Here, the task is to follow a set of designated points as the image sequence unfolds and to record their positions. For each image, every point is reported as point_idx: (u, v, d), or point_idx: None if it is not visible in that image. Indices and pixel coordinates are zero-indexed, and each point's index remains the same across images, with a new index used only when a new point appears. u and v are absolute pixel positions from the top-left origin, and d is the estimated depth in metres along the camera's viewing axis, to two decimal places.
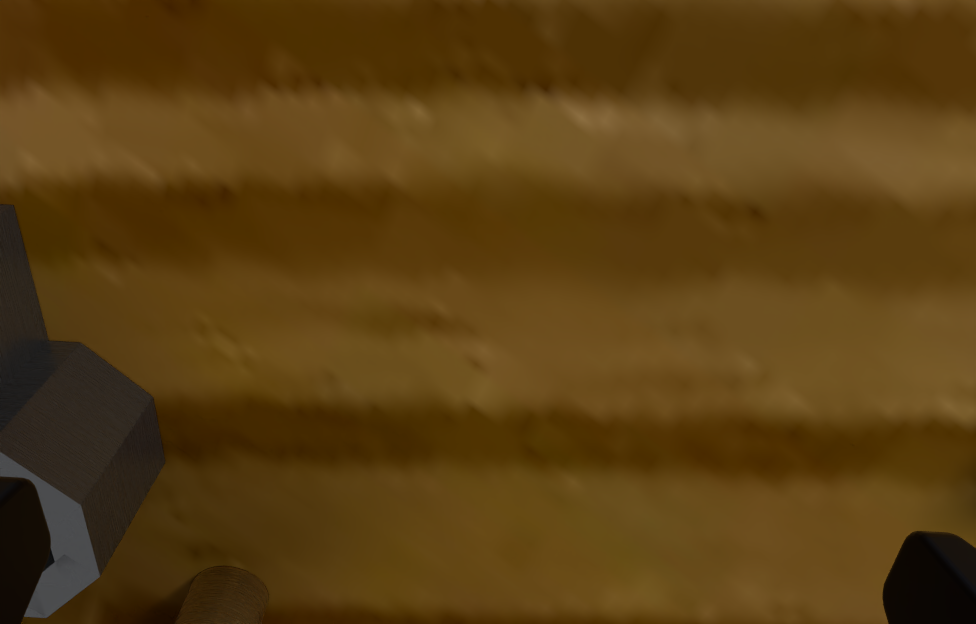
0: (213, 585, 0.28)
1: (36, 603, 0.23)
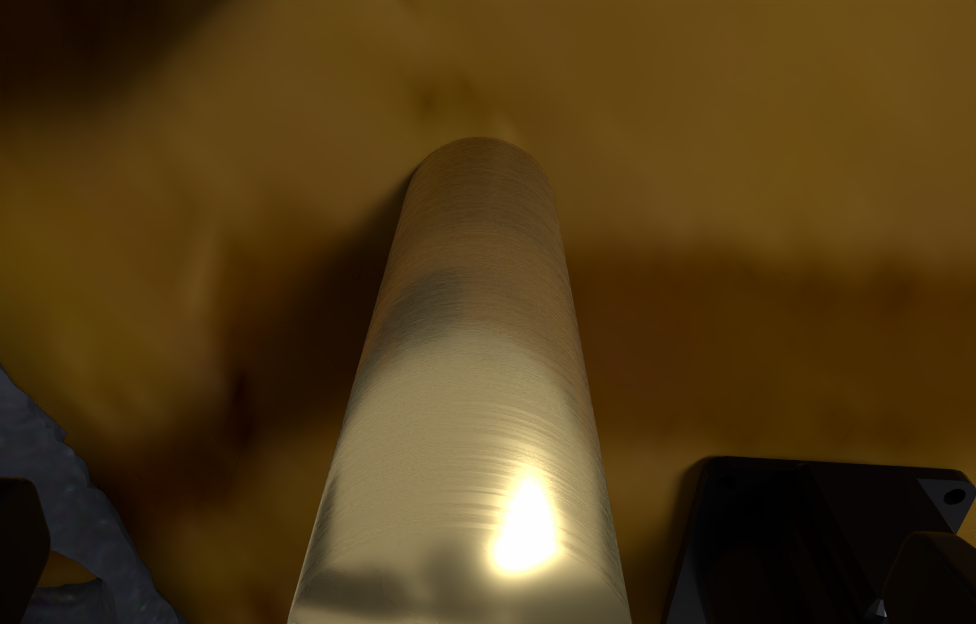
0: (472, 152, 0.14)
1: None
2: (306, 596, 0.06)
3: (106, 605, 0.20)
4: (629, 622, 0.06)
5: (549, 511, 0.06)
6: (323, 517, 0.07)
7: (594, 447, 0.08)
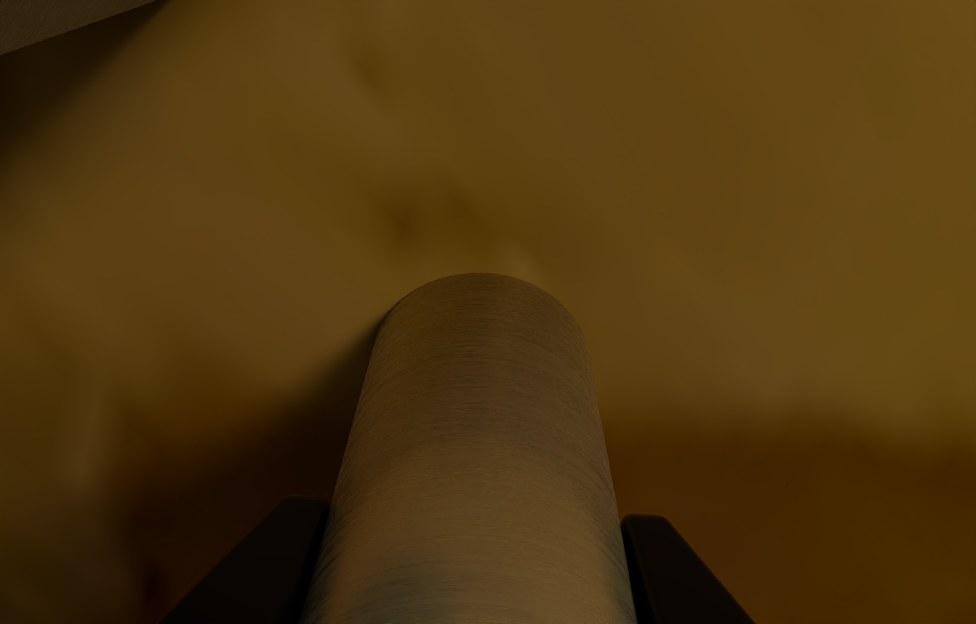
0: (469, 307, 0.09)
1: None
2: None
3: None
4: None
5: None
6: None
7: None
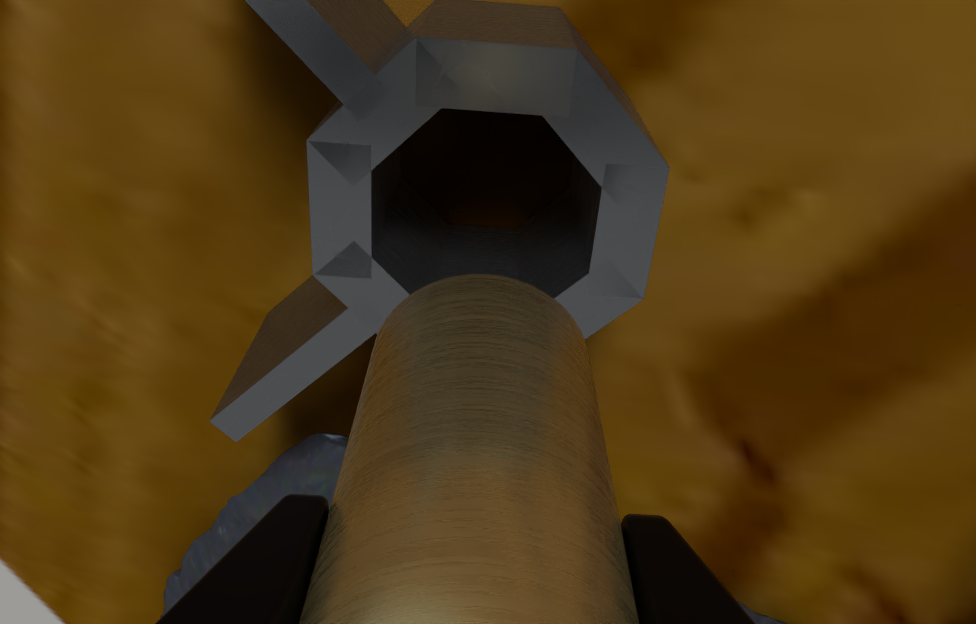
0: (469, 309, 0.09)
1: (619, 282, 0.15)
2: None
3: None
4: None
5: None
6: None
7: None
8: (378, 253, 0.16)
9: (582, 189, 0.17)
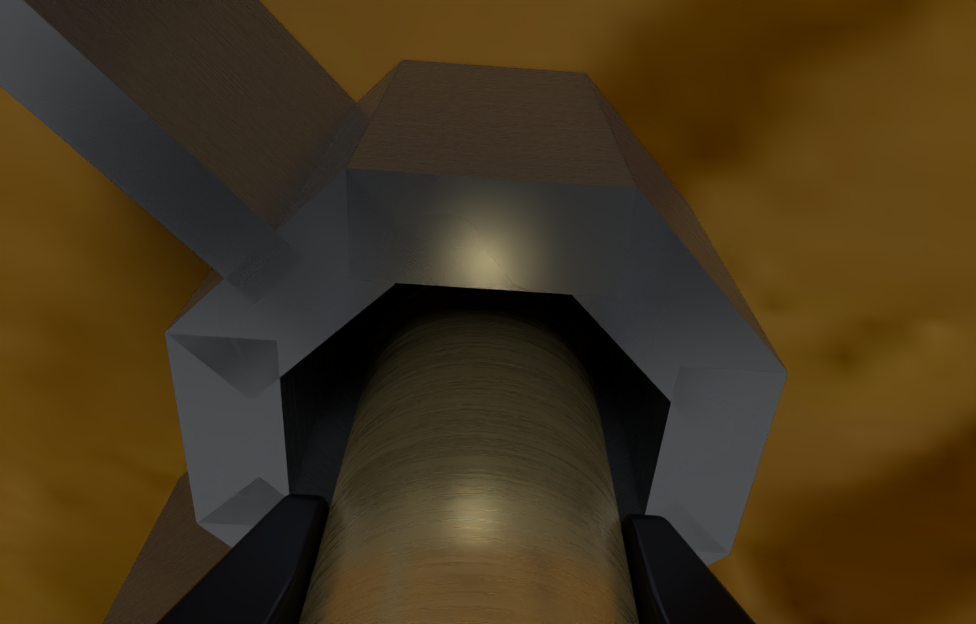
0: (469, 308, 0.09)
1: (692, 532, 0.10)
2: None
3: None
4: None
5: None
6: None
7: None
8: (303, 483, 0.10)
9: (623, 352, 0.11)
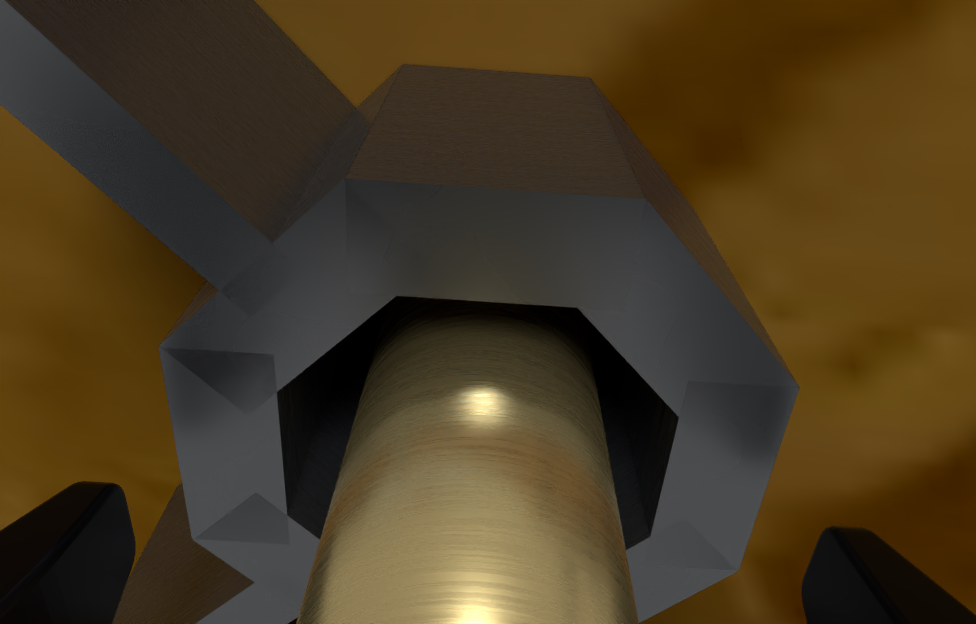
0: None
1: (700, 549, 0.09)
2: None
3: None
4: None
5: None
6: None
7: None
8: (301, 498, 0.10)
9: (628, 362, 0.11)
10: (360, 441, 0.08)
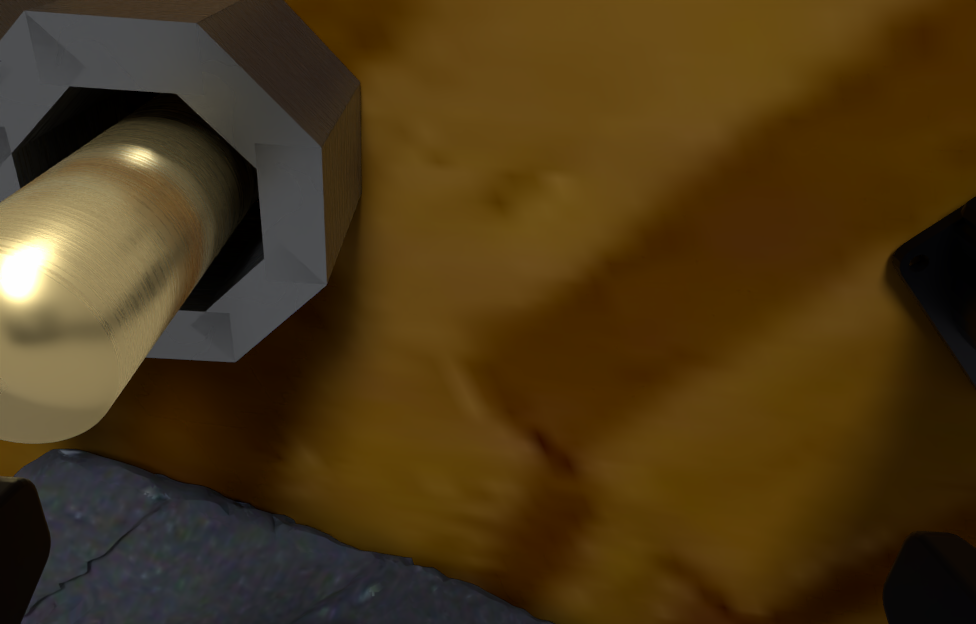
0: None
1: (297, 267, 0.15)
2: None
3: None
4: (99, 325, 0.10)
5: (46, 252, 0.10)
6: None
7: (148, 245, 0.11)
8: None
9: None
10: None
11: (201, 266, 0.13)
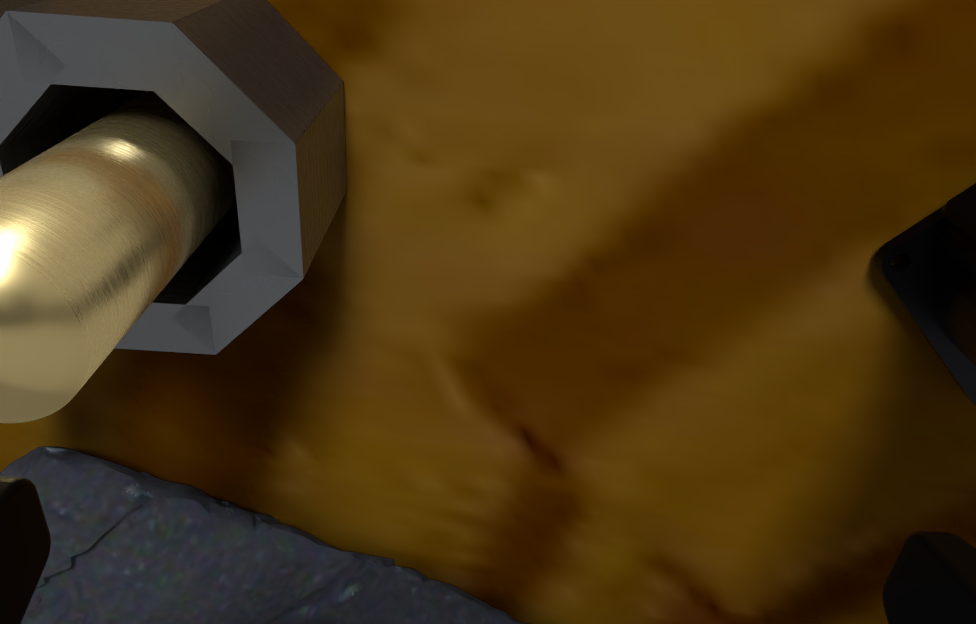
0: None
1: (274, 262, 0.15)
2: None
3: None
4: (68, 306, 0.10)
5: (17, 235, 0.10)
6: None
7: (122, 232, 0.12)
8: None
9: None
10: None
11: (178, 256, 0.14)
